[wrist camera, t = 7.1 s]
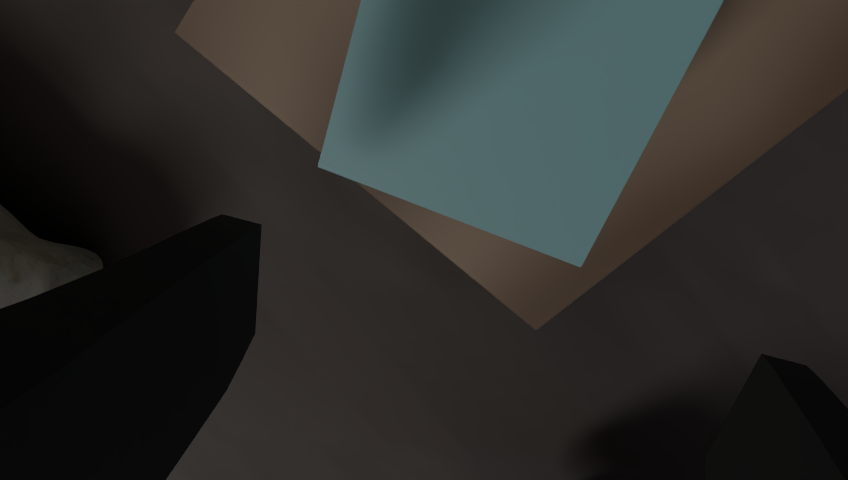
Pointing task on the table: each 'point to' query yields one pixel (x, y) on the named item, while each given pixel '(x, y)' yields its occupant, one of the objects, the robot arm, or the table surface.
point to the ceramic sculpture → (36, 262)
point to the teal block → (510, 107)
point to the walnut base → (652, 175)
